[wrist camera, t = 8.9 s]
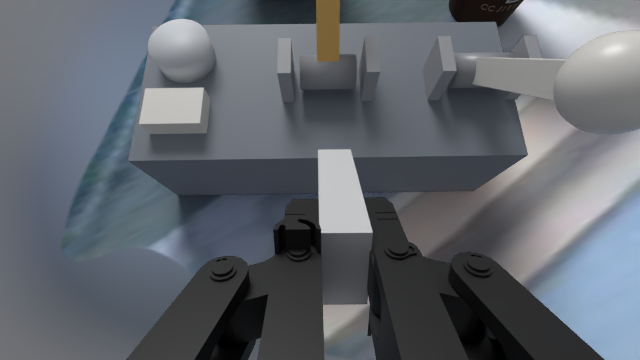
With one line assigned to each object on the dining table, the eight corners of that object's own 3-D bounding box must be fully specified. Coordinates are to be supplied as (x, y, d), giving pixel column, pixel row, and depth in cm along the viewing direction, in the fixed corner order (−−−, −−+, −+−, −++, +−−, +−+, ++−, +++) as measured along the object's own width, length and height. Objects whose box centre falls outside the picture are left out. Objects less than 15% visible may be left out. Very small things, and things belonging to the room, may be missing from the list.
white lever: (502, 41, 22) (745, 25, 10) (492, 95, 24) (696, 144, 11) (449, 41, 22) (623, 26, 10) (442, 96, 24) (588, 146, 11)
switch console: (455, 84, 33) (521, -16, 22) (474, 190, 29) (563, 132, 19) (191, 87, 32) (130, -12, 22) (178, 195, 29) (96, 139, 18)
